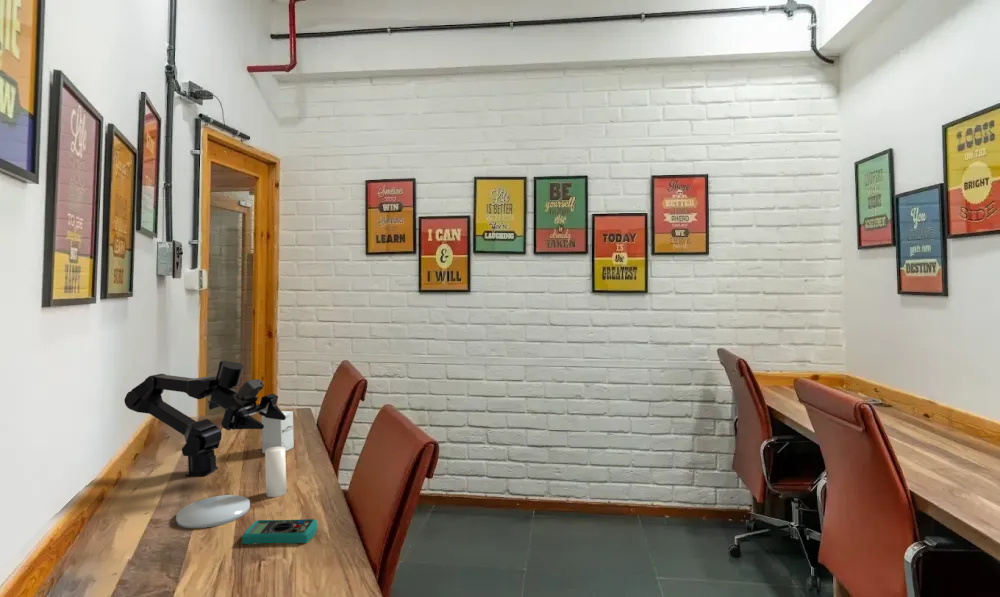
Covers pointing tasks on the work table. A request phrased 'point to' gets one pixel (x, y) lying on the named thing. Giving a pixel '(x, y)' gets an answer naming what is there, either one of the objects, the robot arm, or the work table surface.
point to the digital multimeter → (280, 531)
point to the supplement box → (278, 432)
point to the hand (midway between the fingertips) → (274, 422)
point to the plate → (213, 511)
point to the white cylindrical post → (275, 471)
